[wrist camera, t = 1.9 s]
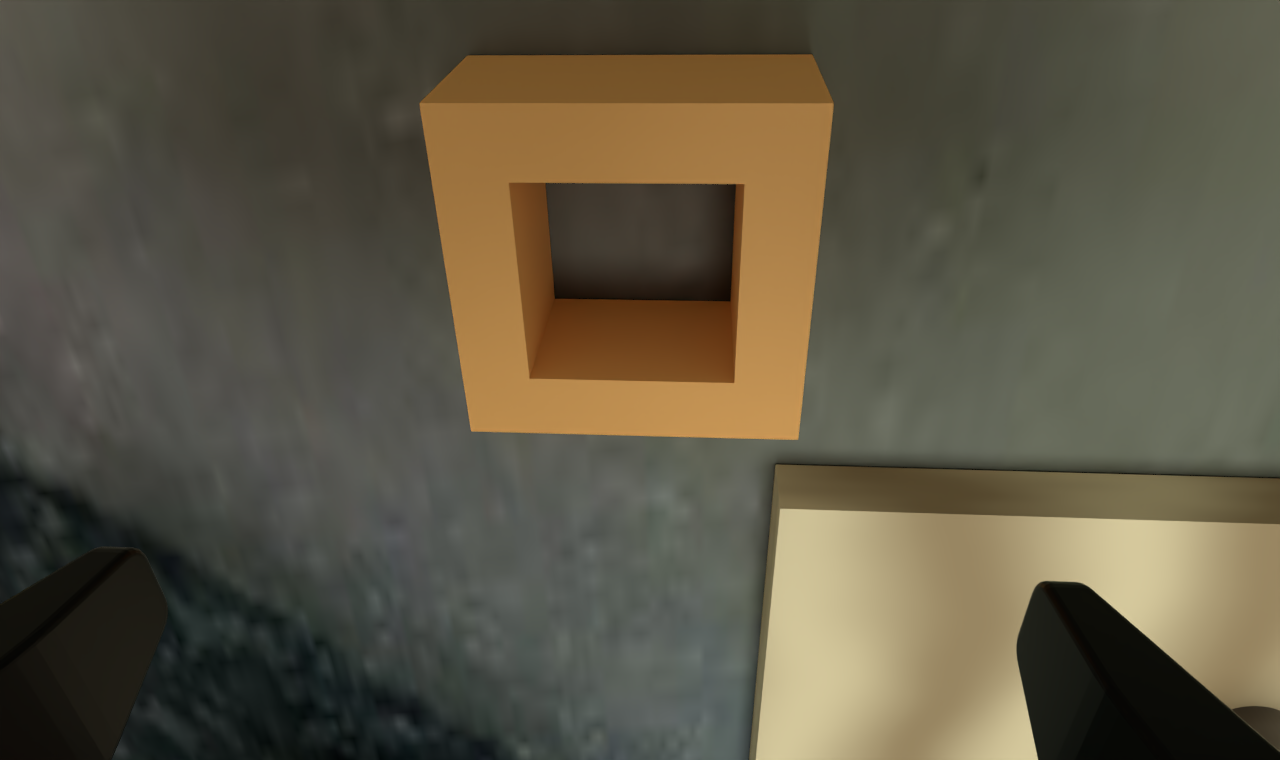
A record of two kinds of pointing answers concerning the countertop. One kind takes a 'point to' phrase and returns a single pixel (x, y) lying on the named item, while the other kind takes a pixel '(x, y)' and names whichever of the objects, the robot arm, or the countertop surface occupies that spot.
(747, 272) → the ring
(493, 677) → the countertop surface
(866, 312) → the countertop surface
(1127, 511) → the keeper board
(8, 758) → the robot arm
